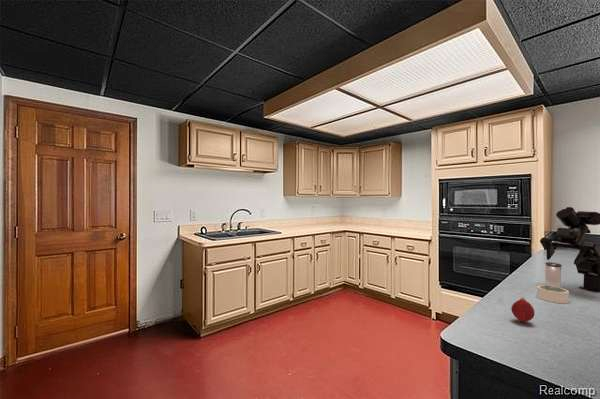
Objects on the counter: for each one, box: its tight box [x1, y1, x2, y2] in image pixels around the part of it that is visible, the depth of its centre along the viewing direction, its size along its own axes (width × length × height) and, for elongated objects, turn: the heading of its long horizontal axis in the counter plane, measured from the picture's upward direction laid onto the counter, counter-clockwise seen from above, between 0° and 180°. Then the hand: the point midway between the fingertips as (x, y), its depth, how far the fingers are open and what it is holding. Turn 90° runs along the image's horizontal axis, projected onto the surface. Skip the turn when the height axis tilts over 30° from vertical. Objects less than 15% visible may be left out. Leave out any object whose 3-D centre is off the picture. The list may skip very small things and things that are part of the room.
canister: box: [544, 261, 562, 292], centre depth 115 cm, size 5×5×13 cm
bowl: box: [536, 284, 570, 304], centre depth 115 cm, size 9×9×4 cm
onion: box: [510, 296, 535, 324], centre depth 92 cm, size 6×6×8 cm
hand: (560, 261), depth 121 cm, fingers open, 9 cm apart
